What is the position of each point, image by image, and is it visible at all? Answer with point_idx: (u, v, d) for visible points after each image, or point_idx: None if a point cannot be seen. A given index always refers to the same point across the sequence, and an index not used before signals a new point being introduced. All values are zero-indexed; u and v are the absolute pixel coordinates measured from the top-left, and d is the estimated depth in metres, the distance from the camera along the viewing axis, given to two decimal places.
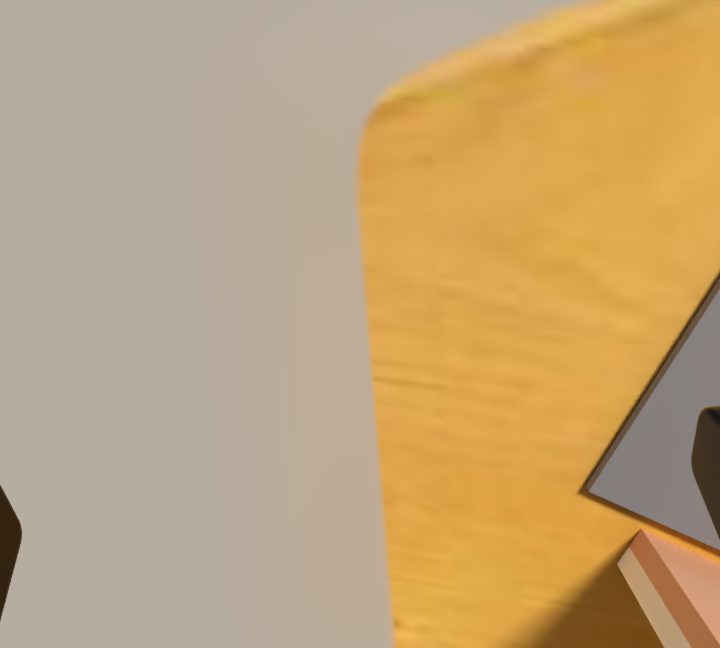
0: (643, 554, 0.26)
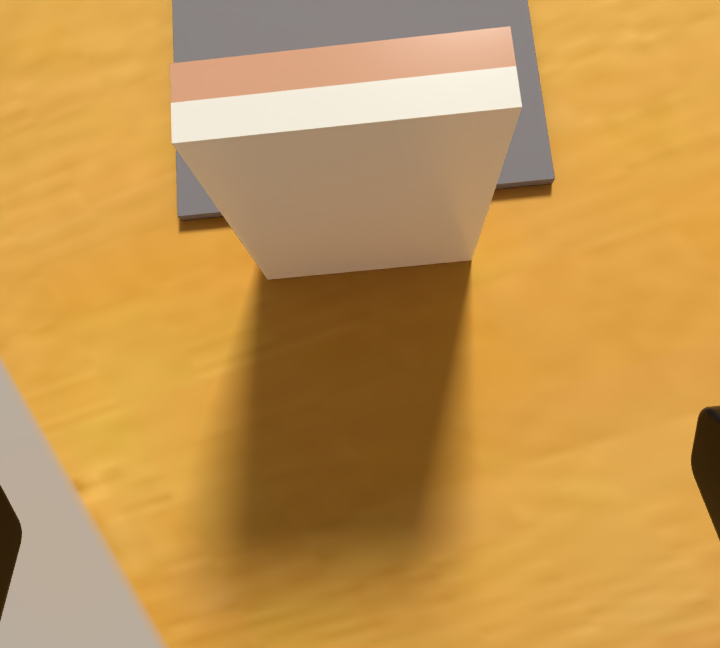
0: None
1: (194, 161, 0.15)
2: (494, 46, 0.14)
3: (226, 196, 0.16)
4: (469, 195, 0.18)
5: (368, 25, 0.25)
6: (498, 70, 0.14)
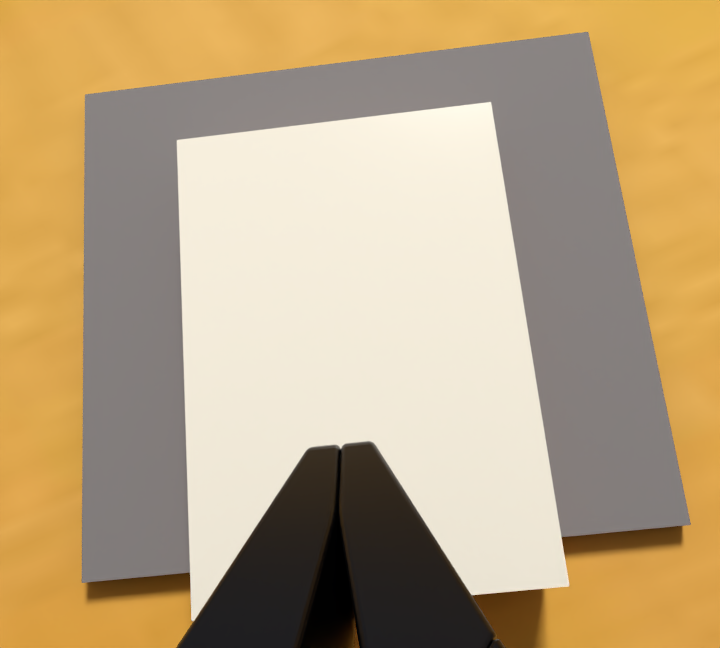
0: None
1: (186, 175, 0.15)
2: None
3: (198, 255, 0.14)
4: (490, 288, 0.14)
5: None
6: None
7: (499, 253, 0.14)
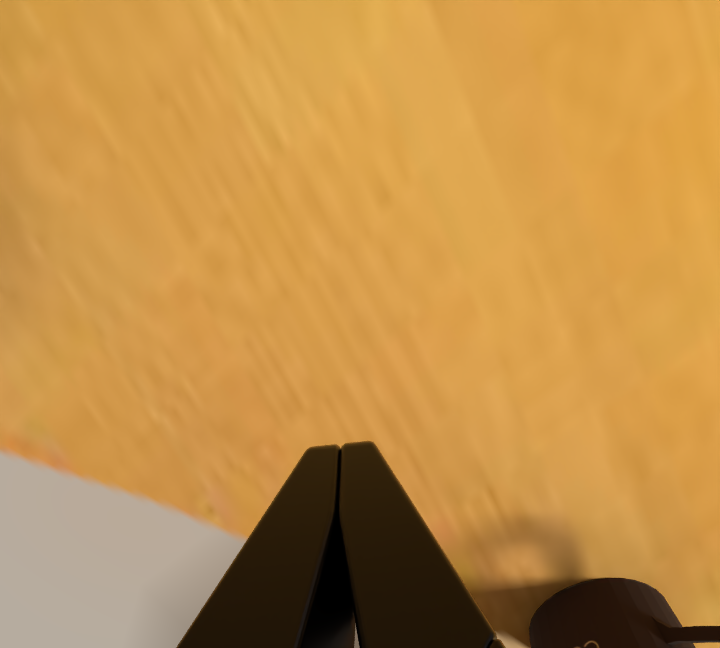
0: None
1: None
2: None
3: None
4: None
5: None
6: None
7: None
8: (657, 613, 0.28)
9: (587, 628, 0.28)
